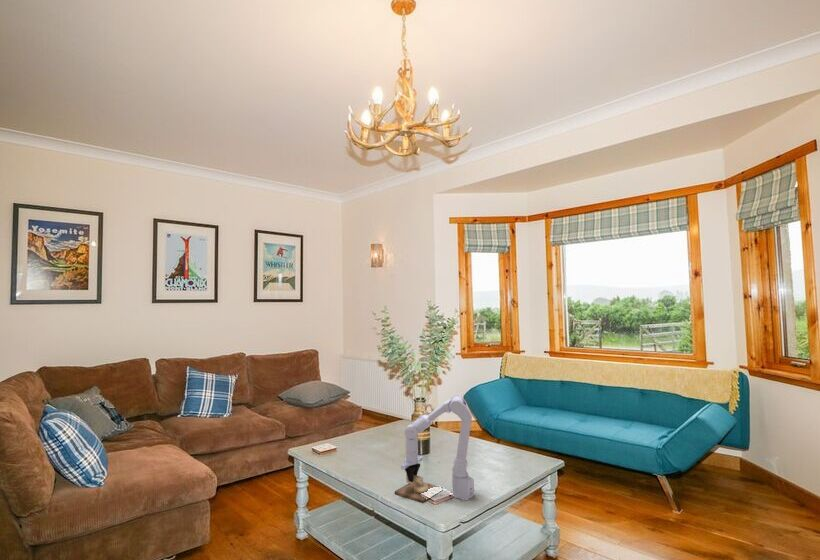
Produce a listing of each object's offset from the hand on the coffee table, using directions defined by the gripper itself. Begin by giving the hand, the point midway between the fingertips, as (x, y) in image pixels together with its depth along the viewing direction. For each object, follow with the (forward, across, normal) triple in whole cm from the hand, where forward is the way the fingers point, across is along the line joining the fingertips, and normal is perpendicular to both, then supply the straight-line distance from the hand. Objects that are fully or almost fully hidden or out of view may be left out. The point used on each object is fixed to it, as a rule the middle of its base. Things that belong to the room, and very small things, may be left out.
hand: (412, 480), depth 208 cm
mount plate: (+5, -1, +3) cm, 6 cm away
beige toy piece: (+4, 0, +3) cm, 4 cm away
